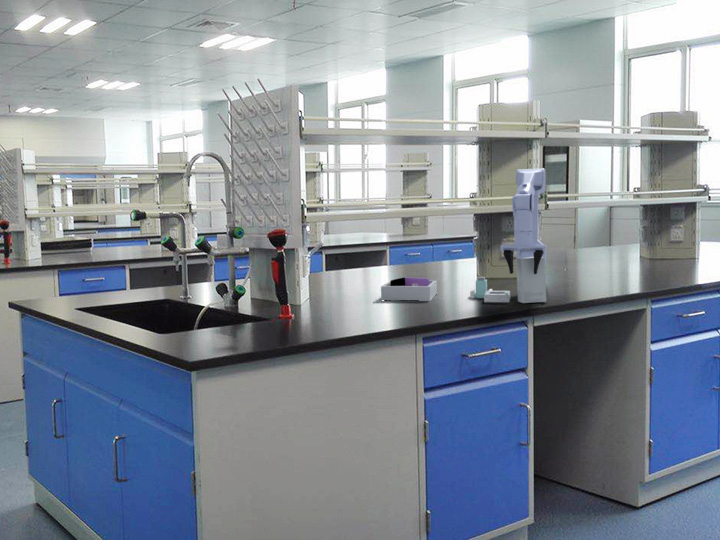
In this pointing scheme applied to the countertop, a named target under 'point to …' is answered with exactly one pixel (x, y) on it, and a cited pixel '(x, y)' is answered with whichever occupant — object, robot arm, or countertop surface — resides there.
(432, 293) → the holder corral
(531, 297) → the skincare box
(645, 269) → the countertop surface
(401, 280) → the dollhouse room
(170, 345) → the countertop surface
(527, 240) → the robot arm
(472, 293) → the holster
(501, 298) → the port
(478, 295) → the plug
